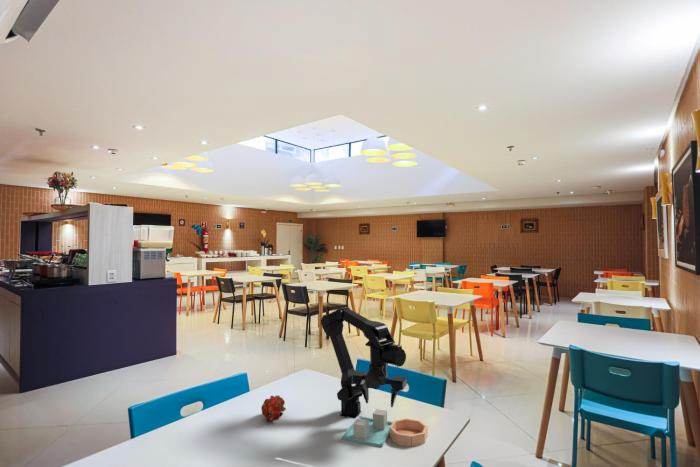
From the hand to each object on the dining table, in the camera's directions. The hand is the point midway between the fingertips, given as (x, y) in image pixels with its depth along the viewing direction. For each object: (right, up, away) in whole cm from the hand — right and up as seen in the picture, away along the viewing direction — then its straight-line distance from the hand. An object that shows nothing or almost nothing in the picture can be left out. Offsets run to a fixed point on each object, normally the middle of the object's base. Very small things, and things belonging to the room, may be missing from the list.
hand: (379, 404), depth 130 cm
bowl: (+9, -7, -8) cm, 14 cm away
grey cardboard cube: (-7, -7, -7) cm, 12 cm away
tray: (-4, -8, -4) cm, 9 cm away
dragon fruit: (-39, -10, +9) cm, 41 cm away
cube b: (0, -7, 0) cm, 8 cm away
